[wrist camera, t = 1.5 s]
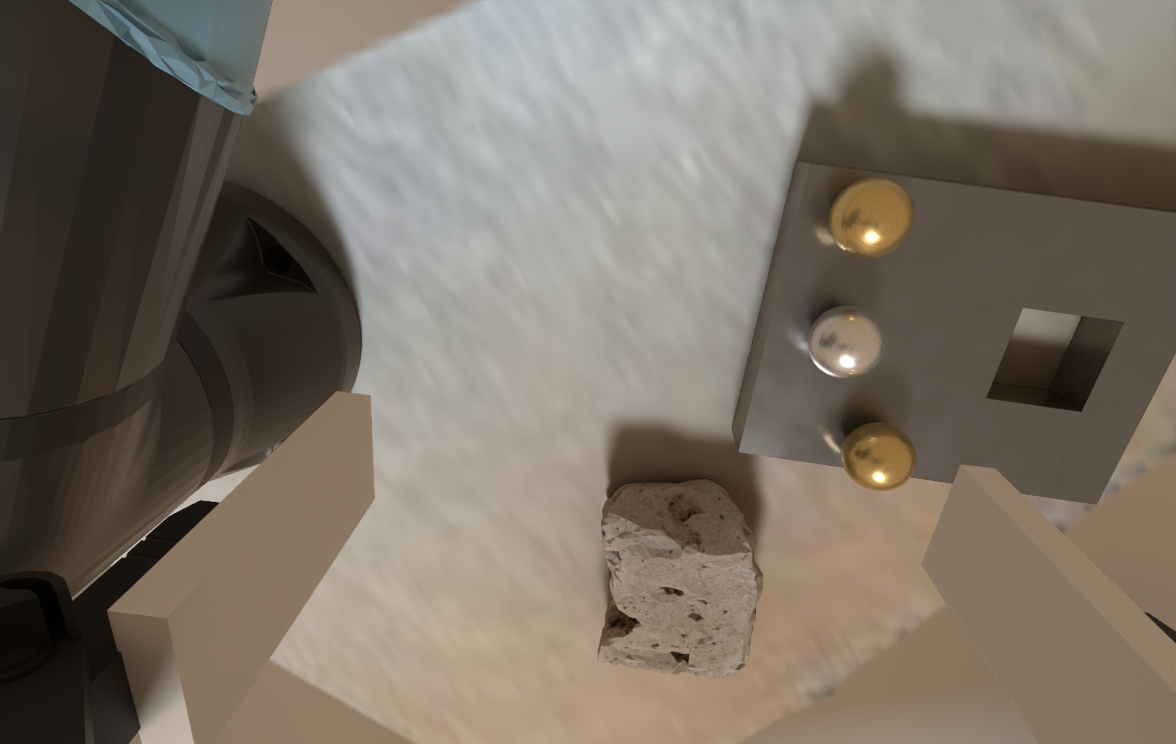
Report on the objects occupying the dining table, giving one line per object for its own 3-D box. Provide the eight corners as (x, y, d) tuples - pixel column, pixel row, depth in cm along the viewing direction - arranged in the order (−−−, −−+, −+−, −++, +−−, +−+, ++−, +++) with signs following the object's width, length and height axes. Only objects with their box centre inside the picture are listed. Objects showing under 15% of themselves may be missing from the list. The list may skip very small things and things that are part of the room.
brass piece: (811, 244, 27) (831, 260, 24) (830, 169, 26) (855, 175, 23) (883, 254, 27) (913, 271, 24) (906, 179, 26) (941, 187, 23)
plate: (731, 429, 34) (738, 452, 32) (796, 160, 28) (809, 164, 26) (1064, 477, 33) (1096, 504, 31) (1194, 214, 28) (1243, 222, 26)
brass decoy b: (825, 463, 31) (844, 499, 28) (843, 406, 30) (865, 437, 27) (889, 472, 31) (915, 509, 28) (909, 415, 30) (938, 448, 27)
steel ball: (792, 357, 29) (809, 384, 26) (809, 292, 28) (829, 312, 25) (860, 367, 29) (884, 395, 26) (880, 302, 28) (908, 323, 25)
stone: (607, 655, 41) (762, 635, 39) (604, 728, 35) (785, 708, 34) (567, 471, 37) (735, 445, 36) (557, 519, 32) (756, 490, 30)
